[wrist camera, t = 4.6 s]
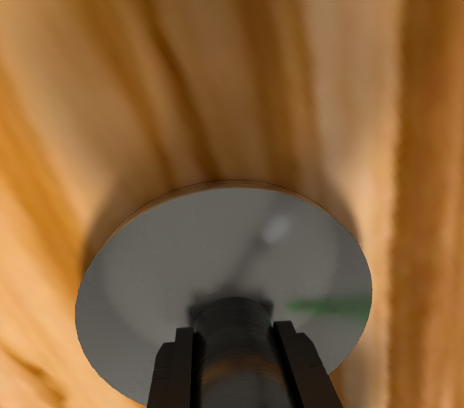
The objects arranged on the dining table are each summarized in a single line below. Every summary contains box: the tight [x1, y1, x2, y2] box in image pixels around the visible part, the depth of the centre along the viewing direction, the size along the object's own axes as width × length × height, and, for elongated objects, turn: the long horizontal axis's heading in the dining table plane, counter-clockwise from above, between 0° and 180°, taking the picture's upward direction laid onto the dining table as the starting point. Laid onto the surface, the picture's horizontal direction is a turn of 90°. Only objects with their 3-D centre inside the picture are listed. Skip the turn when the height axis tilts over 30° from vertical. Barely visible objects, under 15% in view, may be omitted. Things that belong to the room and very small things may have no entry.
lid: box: [75, 180, 372, 408], centre depth 10 cm, size 14×14×6 cm
